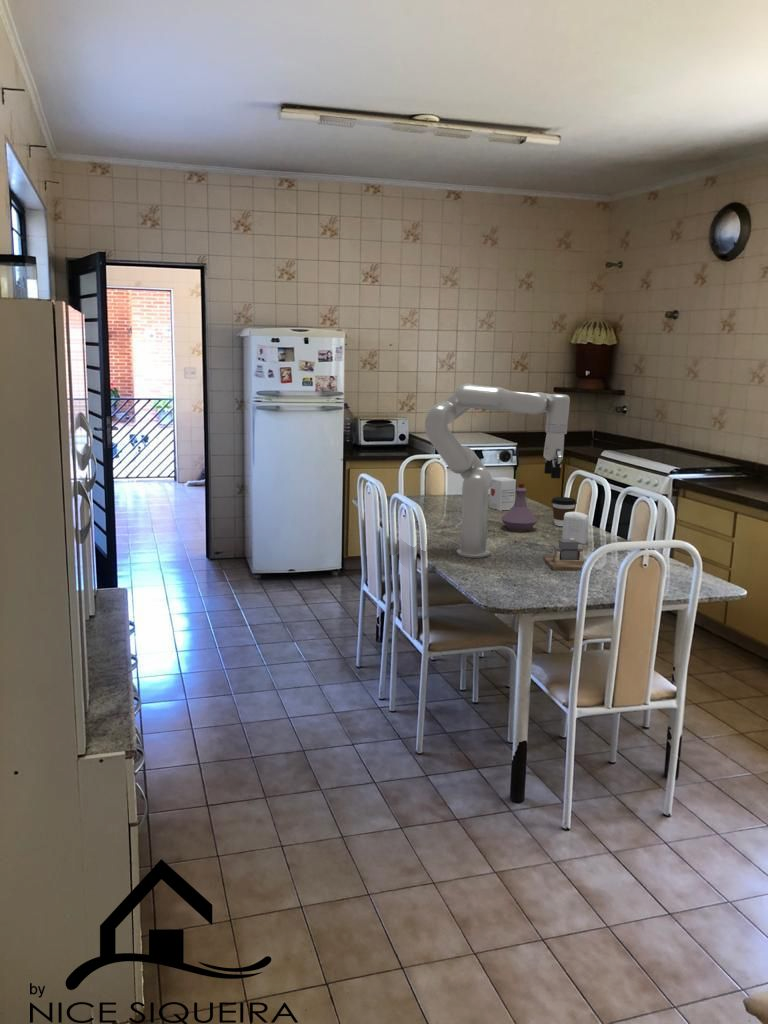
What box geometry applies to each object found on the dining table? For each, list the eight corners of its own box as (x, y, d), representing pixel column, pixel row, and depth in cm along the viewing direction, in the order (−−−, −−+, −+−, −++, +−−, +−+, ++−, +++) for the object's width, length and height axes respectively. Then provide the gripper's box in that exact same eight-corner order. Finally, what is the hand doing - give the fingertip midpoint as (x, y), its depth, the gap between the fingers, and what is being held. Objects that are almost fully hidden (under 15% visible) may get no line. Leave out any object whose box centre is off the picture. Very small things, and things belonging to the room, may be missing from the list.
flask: (507, 534, 342) (509, 487, 338) (494, 525, 358) (496, 480, 354) (544, 533, 346) (546, 486, 341) (529, 524, 361) (532, 480, 357)
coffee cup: (568, 529, 352) (570, 502, 350) (545, 525, 359) (547, 499, 356) (579, 525, 361) (580, 498, 359) (556, 521, 367) (558, 495, 365)
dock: (543, 559, 303) (544, 545, 302) (580, 560, 304) (581, 545, 303) (553, 570, 289) (554, 555, 288) (591, 570, 290) (593, 555, 289)
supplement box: (488, 508, 395) (490, 477, 392) (503, 506, 399) (505, 476, 396) (499, 511, 387) (501, 480, 384) (514, 510, 391) (516, 479, 388)
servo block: (552, 560, 298) (554, 537, 296) (578, 560, 299) (580, 537, 297) (555, 563, 294) (557, 539, 292) (581, 563, 295) (583, 539, 293)
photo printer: (588, 542, 330) (590, 512, 328) (584, 544, 327) (586, 514, 324) (564, 538, 336) (566, 509, 333) (560, 540, 333) (562, 511, 330)
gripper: (540, 425, 300) (536, 471, 304) (552, 431, 283) (547, 479, 287) (560, 426, 301) (556, 472, 304) (573, 432, 284) (568, 480, 288)
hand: (552, 475), depth 296 cm, fingers open, 9 cm apart
